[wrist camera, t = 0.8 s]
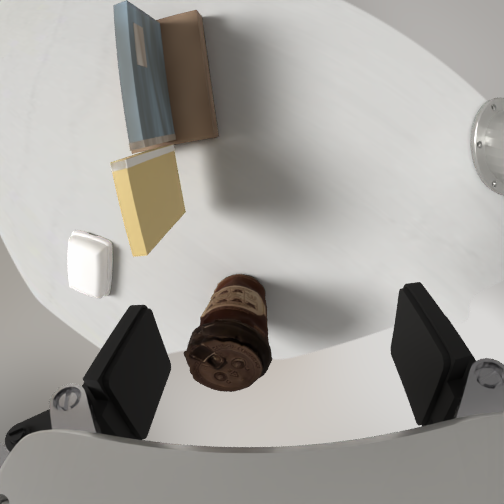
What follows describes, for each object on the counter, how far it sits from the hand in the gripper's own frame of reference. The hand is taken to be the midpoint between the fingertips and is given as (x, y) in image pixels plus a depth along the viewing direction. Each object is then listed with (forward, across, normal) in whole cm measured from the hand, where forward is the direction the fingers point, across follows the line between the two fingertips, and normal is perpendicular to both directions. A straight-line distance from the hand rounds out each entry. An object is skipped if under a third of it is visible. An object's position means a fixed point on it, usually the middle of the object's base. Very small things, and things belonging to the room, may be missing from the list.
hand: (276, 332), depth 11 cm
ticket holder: (+25, +10, -13) cm, 29 cm away
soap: (+25, +26, +7) cm, 37 cm away
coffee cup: (+25, +6, +13) cm, 29 cm away
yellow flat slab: (+21, +10, -3) cm, 23 cm away
